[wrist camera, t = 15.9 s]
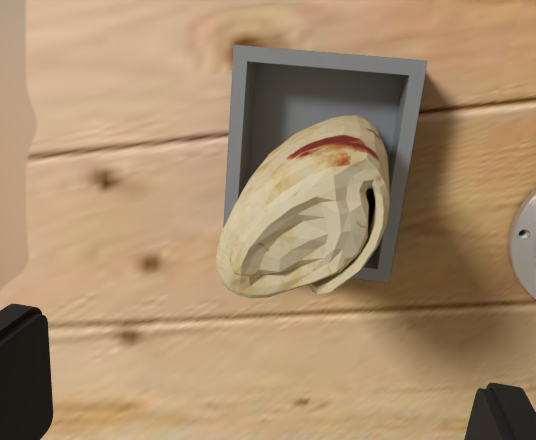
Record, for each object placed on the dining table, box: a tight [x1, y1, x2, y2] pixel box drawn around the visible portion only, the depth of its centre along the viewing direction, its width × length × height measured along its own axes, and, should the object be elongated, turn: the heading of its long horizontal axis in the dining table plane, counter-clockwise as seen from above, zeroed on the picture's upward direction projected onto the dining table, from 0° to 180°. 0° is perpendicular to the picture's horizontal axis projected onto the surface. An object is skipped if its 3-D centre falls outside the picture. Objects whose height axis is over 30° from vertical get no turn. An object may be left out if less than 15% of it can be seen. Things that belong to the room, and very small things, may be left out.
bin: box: [223, 45, 428, 283], centre depth 37 cm, size 13×16×5 cm
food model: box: [216, 115, 390, 298], centre depth 29 cm, size 10×7×20 cm
